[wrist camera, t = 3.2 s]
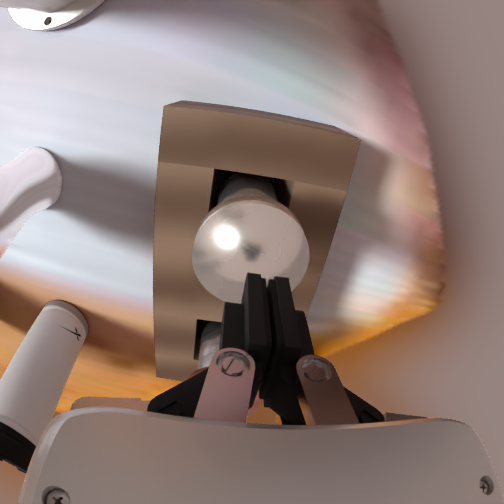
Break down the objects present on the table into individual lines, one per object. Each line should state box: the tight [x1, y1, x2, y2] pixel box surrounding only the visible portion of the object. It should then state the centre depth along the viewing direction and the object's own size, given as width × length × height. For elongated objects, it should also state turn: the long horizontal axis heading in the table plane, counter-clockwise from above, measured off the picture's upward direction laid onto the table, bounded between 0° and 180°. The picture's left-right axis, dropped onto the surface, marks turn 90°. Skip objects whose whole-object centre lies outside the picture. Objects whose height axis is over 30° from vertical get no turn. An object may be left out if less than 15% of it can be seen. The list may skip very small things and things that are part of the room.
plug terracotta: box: [186, 320, 262, 416], centre depth 25 cm, size 6×6×8 cm
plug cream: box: [192, 172, 309, 304], centre depth 19 cm, size 6×6×8 cm
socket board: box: [153, 101, 361, 381], centre depth 26 cm, size 24×12×6 cm, turn 170°
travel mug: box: [0, 300, 88, 473], centre depth 24 cm, size 6×7×20 cm
